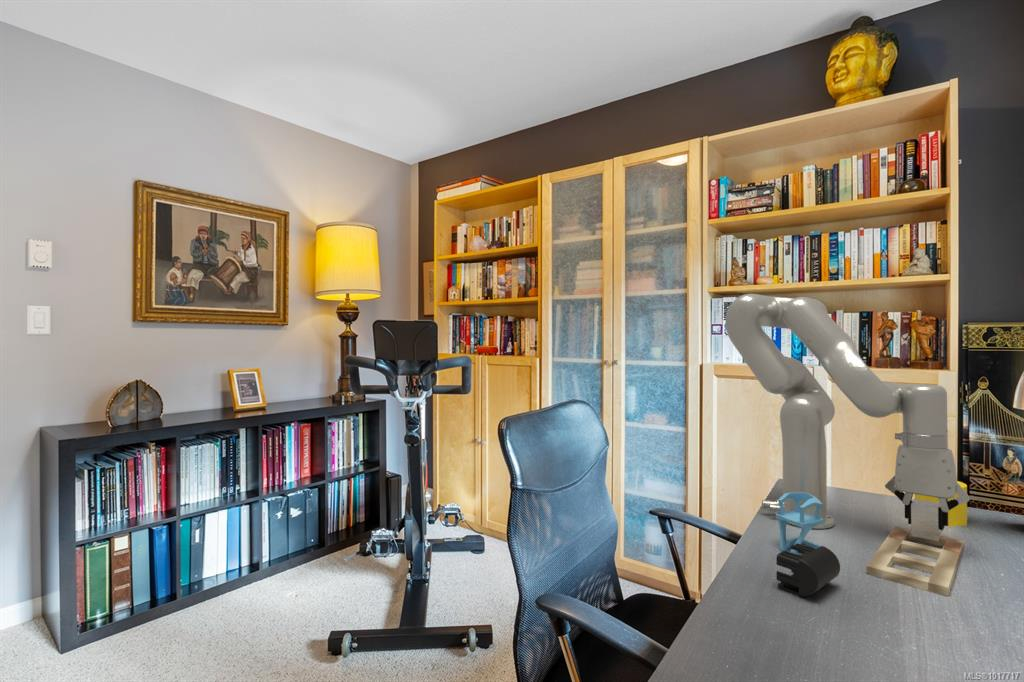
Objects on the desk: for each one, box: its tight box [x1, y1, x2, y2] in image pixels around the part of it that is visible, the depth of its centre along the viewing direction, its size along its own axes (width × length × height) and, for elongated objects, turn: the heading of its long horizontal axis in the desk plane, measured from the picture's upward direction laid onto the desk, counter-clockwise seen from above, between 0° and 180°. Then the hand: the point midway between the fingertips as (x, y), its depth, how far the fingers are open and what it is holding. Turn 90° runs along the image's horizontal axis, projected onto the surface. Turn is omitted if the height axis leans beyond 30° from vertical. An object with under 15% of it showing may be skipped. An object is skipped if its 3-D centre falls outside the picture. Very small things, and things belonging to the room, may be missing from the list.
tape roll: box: [914, 480, 968, 527], centre depth 126 cm, size 10×10×9 cm
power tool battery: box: [775, 543, 841, 598], centre depth 92 cm, size 10×7×7 cm
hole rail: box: [865, 525, 965, 597], centre depth 103 cm, size 12×30×2 cm, turn 134°
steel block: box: [910, 498, 942, 541], centre depth 109 cm, size 4×4×7 cm
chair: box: [775, 492, 824, 554], centre depth 108 cm, size 8×8×12 cm
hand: (926, 524), depth 109 cm, fingers closed on steel block, 4 cm apart
